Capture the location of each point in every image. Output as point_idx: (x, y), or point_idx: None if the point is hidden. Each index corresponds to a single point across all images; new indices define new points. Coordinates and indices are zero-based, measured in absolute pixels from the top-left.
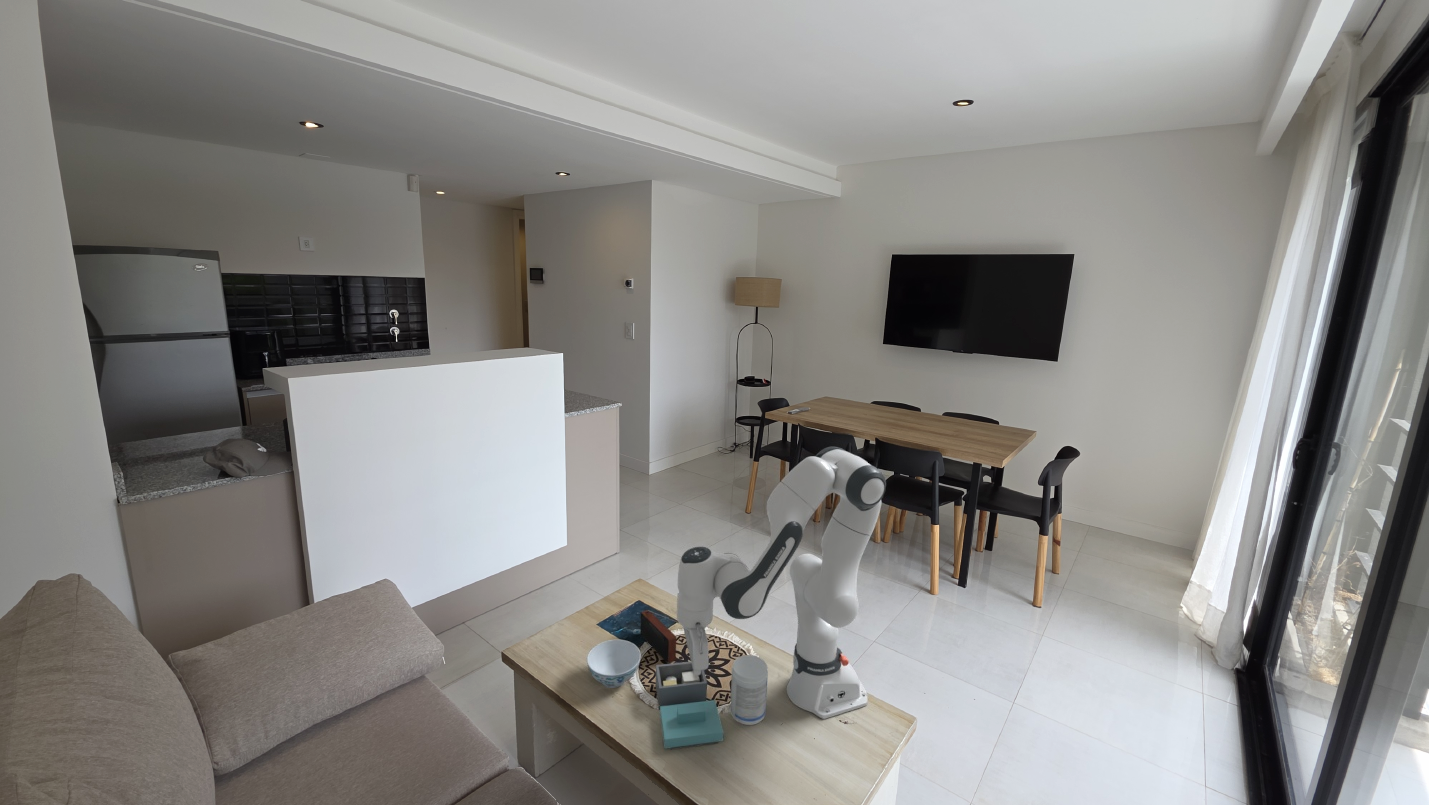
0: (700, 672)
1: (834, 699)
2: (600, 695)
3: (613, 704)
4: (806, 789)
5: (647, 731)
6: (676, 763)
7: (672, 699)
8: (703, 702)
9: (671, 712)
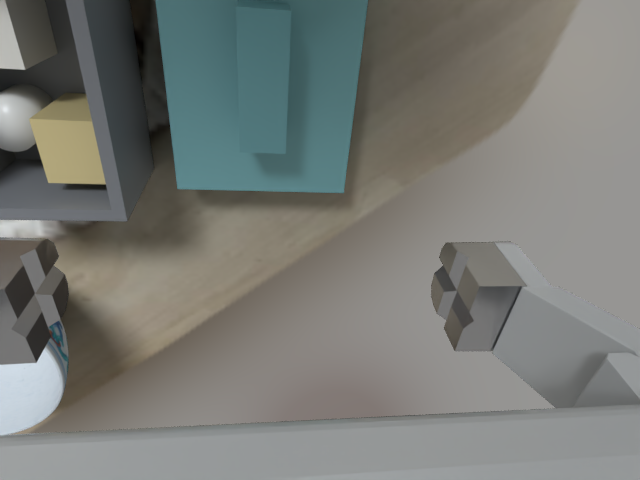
0: (525, 257)
1: None
2: (83, 328)
3: (123, 297)
4: None
5: (249, 214)
6: (399, 143)
7: (134, 133)
8: None
9: (215, 150)
